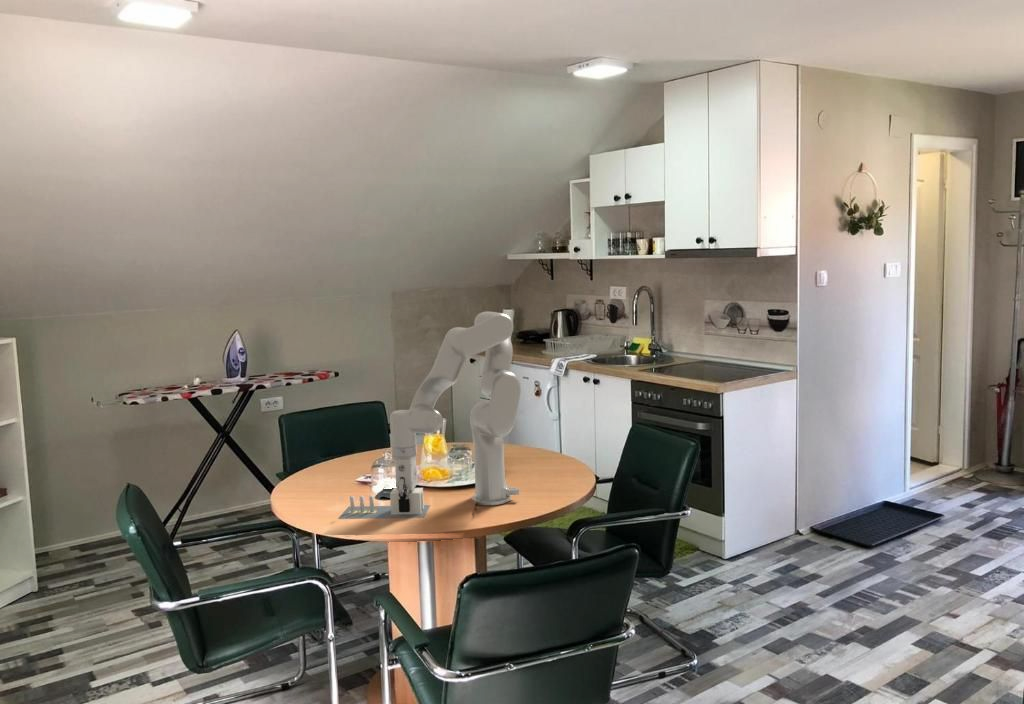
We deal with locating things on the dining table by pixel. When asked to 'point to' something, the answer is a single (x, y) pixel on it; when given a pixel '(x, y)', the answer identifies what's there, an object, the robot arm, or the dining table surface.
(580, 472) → the dining table surface
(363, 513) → the header board
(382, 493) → the electronic device
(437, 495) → the dining table surface
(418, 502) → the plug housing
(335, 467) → the dining table surface
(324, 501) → the dining table surface
